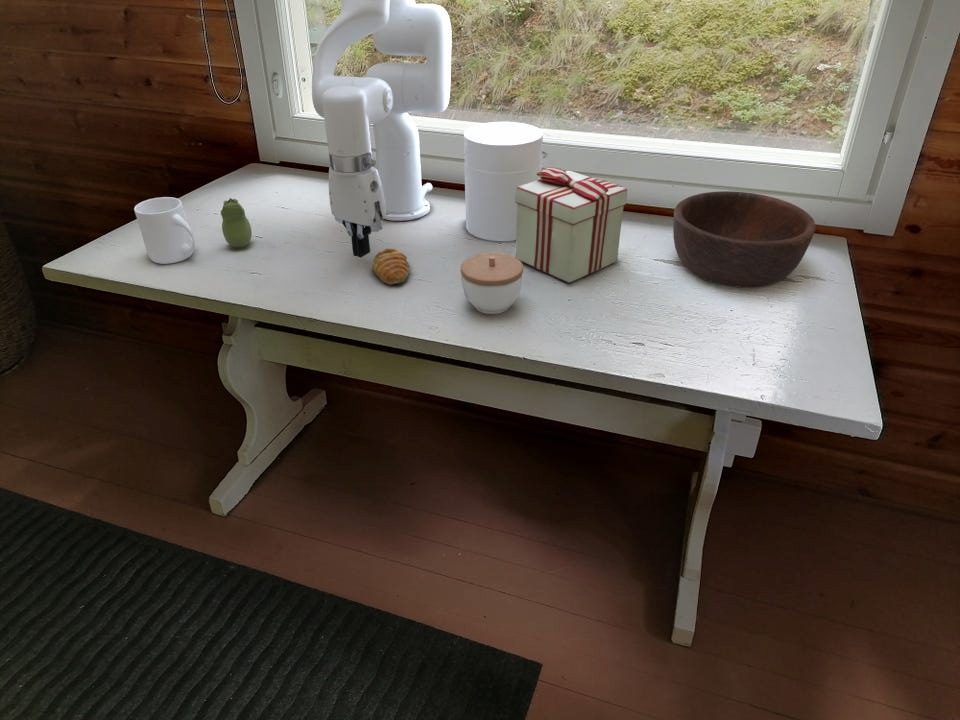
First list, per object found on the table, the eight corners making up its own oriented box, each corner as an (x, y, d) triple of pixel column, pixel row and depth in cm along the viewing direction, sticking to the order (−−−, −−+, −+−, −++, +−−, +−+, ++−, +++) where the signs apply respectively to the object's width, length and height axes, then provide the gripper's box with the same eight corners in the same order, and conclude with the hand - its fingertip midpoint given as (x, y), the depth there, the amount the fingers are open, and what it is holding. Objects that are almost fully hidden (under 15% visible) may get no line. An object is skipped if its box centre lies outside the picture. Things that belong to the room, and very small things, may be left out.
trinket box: (459, 292, 127) (458, 245, 121) (518, 289, 127) (519, 242, 122) (463, 322, 118) (462, 273, 112) (526, 319, 118) (527, 270, 113)
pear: (253, 239, 147) (244, 193, 141) (255, 249, 142) (245, 203, 137) (226, 242, 145) (215, 197, 140) (226, 253, 141) (215, 206, 135)
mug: (182, 272, 134) (168, 220, 128) (140, 259, 139) (124, 209, 133) (216, 254, 141) (203, 204, 134) (174, 243, 145) (160, 194, 139)
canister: (554, 225, 151) (559, 132, 140) (503, 248, 142) (504, 150, 130) (501, 205, 160) (502, 117, 149) (450, 225, 151) (447, 133, 140)
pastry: (415, 283, 129) (414, 265, 127) (380, 289, 128) (378, 271, 126) (404, 262, 137) (403, 244, 135) (370, 267, 135) (368, 249, 133)
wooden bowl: (658, 283, 128) (666, 232, 123) (675, 231, 148) (682, 184, 142) (803, 305, 121) (818, 252, 115) (801, 247, 141) (814, 199, 135)
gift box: (630, 254, 139) (640, 170, 129) (574, 287, 128) (581, 198, 118) (562, 231, 148) (567, 151, 138) (505, 260, 137) (506, 175, 127)
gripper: (397, 161, 124) (404, 255, 134) (333, 148, 130) (345, 239, 140) (370, 174, 118) (380, 270, 129) (305, 160, 125) (319, 253, 135)
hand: (361, 254), depth 135 cm, fingers closed
